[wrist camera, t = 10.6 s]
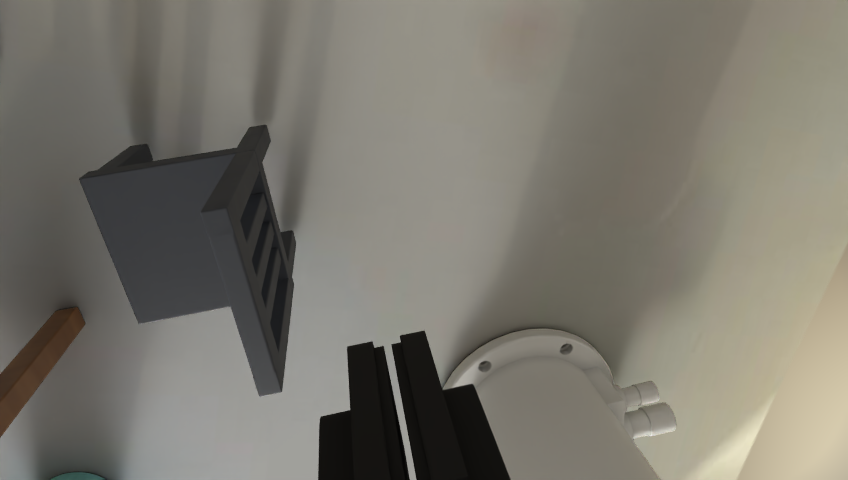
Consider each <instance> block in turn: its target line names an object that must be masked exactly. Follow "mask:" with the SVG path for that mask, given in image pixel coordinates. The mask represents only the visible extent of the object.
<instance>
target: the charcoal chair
mask: <svg viewBox="0 0 848 480" xmlns="http://www.w3.org/2000/svg"><path fill="white" fill-rule="evenodd" d="M270 142H271V140H270V136H269V132H268V128H267V125H261V126H255V127H250V128H249V129H248V131H247V132H246V134H245V135H244V137H243V139H242V140H241V142H240V144H239V145H238V147H237V148H232V149H226V150H220V151H214V152H207V153H201V154H195V155H189V156H183V157H177V158H171V159H164V160H158V161H153V159H152V156H151V153H150V150H149V147H148V145H147V144H142V145H136V146H130V147H129V148H127V149H126V150H125V151H123V152H122V153H121V154H119V155H118V156H116V157H115V158H114V159H112V160H111V161H110V162H108V163H107V164H105V165H104V166H103V167H101V168H100V169H99V170H97V171H91V172H88V173H86V174H85V175H84V176H82V177H81V178H79V180H80V183H81V185H82V187H83V190H84V192H85V195H86V197H87V200H88V202H89V204H90V207H91V209H92V212H93V214H94V217H95V219H96V221H97V224H98V226H99V229H100V231H101V234H102V236H103V238H104V241H105V243H106V246H107V248H108V251H109V253H110V255H111V258H112V260H113V263H114V265H115V268H116V270H117V272H118V275H119V277H120V280H121V282H122V285H123V287H124V289H125V292H126V294H127V297H128V299H129V302H130V304H131V306H132V309H133V311H134V314H135V316H136V319H137V321H138V323H139V324H143V323H148V322H154V321H159V320H164V319H169V318H175V317H180V316H185V315H190V314H195V313H201V312H206V311H211V310H216V309H222V308H227V307H231V309H232V312H233V315H234V318H235V321H236V324H237V327H238V330H239V334H240V337H241V340H242V343H243V346H244V349H245V352H246V355H247V358H248V362H249V365H250V368H251V371H252V374H253V378H254V381H255V384H256V388H257V391H258V394H259V396H260V397H261V396H266V395H271V394H276V393H280V392H282V387H283V378H284V369H285V360H286V351H287V343H288V334H289V325H290V316H291V307H292V298H293V289H294V283H293V279H292V272H293V264H294V256H295V248H296V241H295V237H294V233H293V231H292V230H290V231H285V232H280V229H279V225H278V221H277V218H276V214H275V210H274V206H273V202H272V198H271V195H270V191H269V187H268V183H267V179H266V175H265V171H264V168H263V164H262V162H263V159H264V157H265V154H266V152H267V149H268V147H269V144H270Z"/></svg>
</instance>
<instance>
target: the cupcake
mask: <svg viewBox="0 0 848 480" xmlns="http://www.w3.org/2000/svg"><path fill="white" fill-rule="evenodd" d="M51 480H106V479H104V478H102V477H100V476H98V475H94V474H90V473H84V472H72V473H66V474H62V475H59V476H56V477H54V478H52V479H51Z"/></svg>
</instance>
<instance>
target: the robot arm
mask: <svg viewBox="0 0 848 480" xmlns="http://www.w3.org/2000/svg"><path fill="white" fill-rule="evenodd" d="M400 339H401V343H396V344H391V345H392V350H393V355H394V361H395V366H396V371H397V377H398V382H399V387H400V393H401V398H402V404H403V409H404V414H405V420H406V425H407V430H408V436H409V441H410V446H411V452H412V457H413V463H414V468H415V473H416V479H417V480H661V479H660V478H659V476H658V475H657V474H656V472H655V471H654V469H653V468H652V467H651V465H650V464H649V462H648V461H647V459H646V458H645V457H644V455H643V454H642V452H641V451H640V450H639V448H638V447H637V445H636V444H635V442H634V438H638V437H642V436H649V437H650V436H654V435H658V434H662V433H667V432H671V431H674V430H676V418H675V416H674V413H673V411H672V409H671V408H670V406H669V405H668V404H666V403H658V404H654V405H649V406H645V407H641V408H639V409H638V410H635V411H630V412H626V411H627V407H631V406H635V405H638V406H639V405H644V404H649V403H653V402H657V401H659V392H658V389H657V387H656V385H655V384H654V383H653V382H652V381H649V382H644V383H640V384H635V385H632V386H631V387H626V388H622V389H621V388H620V387H619V386H617V385H614V379H613V376H612V373H611V371H610V369H609V366H608V365H607V363H606V362H605V360H604V359H603V358H602V356H601V355H600V354H599V352H598V351H597V350H596V349H595V348H594V347H593V346H592V345H591V344H590V343H588V342H587V341H585V340H583V339H582V338H580V337H578V336H576V335H574V334H571V333H568V332H565V331H561V330H554V329H547V328H544V329H527V330H522V331H517V332H513V333H509V334H507V335H504V336H501V337H499V338H496V339H494V340H492V341H490V342H488V343H487V344H485V345H483V346H481V347H480V348H478V349H477V350H475V351H474V352H473V353H472V354H470V355H469V356H468V357H467V358H465V359H464V360H463V361H462V362H461V364H460V365H459V366H458V367H457V368H456V369H455V370H454V371H453V372H452V374H451V376H450V377H449V379H448V380H447V382H446V384H445V385H444V387H443V390H442V387H441V384H440V381H439V377H438V374H437V370H436V367H435V364H434V360H433V357H432V354H431V350H430V347H429V344H428V340H427V337H426V334H425V331H420V332H415V333H410V334H406V335H401V336H400ZM347 354H348V373H349V391H350V410H349V411H345V412H340V413H336V414H331V415H326V416H322V417H321V418H320V428H319V471H318V480H410V479H409V473H408V467H407V462H406V456H405V450H404V445H403V440H402V435H401V430H400V425H399V420H398V415H397V410H396V405H395V400H394V395H393V390H392V385H391V380H390V375H389V371H388V366H387V361H386V356H385V351H384V346H381V347H377V348H374V345H373V342H367V343H362V344H358V345H353V346H348V347H347Z"/></svg>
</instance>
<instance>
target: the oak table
mask: <svg viewBox="0 0 848 480" xmlns="http://www.w3.org/2000/svg"><path fill="white" fill-rule="evenodd" d="M84 326H85V322H84V320H83V317H82V315H81V313H80V311H79V309H78V307H74V308H69V309H63V310H58V311H55V313H54V314H53V315H52V316H51V317H50V318H49V319H48V320H47V322H46V323H45V324H44V325H43V326H42V327H41V328H40V330H39V331H38V332H37V333H36V334H35V335H34V336H33V338H32V339H31V340H30V341H29V342H28V343H27V344H26V345H25V347H24V348H23V349H22V350H21V351H20V352H19V353H18V355H17V356H16V357H15V358H14V359H13V360H12V361H11V363H10V364H9V365H8V366H7V367H6V368H5V369H4V370H3V372H2V373H1V374H0V437H1V436H2V435H3V433H4V432H5V431H6V429H7V428H8V427H9V425H10V424H11V423H12V421H13V420H14V419H15V417H16V416H17V415H18V413H19V412H20V411H21V409H22V408H23V407H24V405H25V404H26V403H27V402H28V400H29V399H30V398H31V396H32V395H33V394H34V392H35V391H36V390H37V388H38V387H39V386H40V384H41V383H42V382H43V380H44V379H45V378H46V376H47V375H48V374H49V372H50V371H51V370H52V368H53V367H54V366H55V364H56V363H57V362H58V360H59V359H60V358H61V356H62V355H63V354H64V352H65V351H66V350H67V348H68V347H69V346H70V344H71V343H72V342H73V340H74V339H75V338H76V336H77V335H78V334H79V332H80V331H81V330H82V328H83V327H84Z"/></svg>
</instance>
